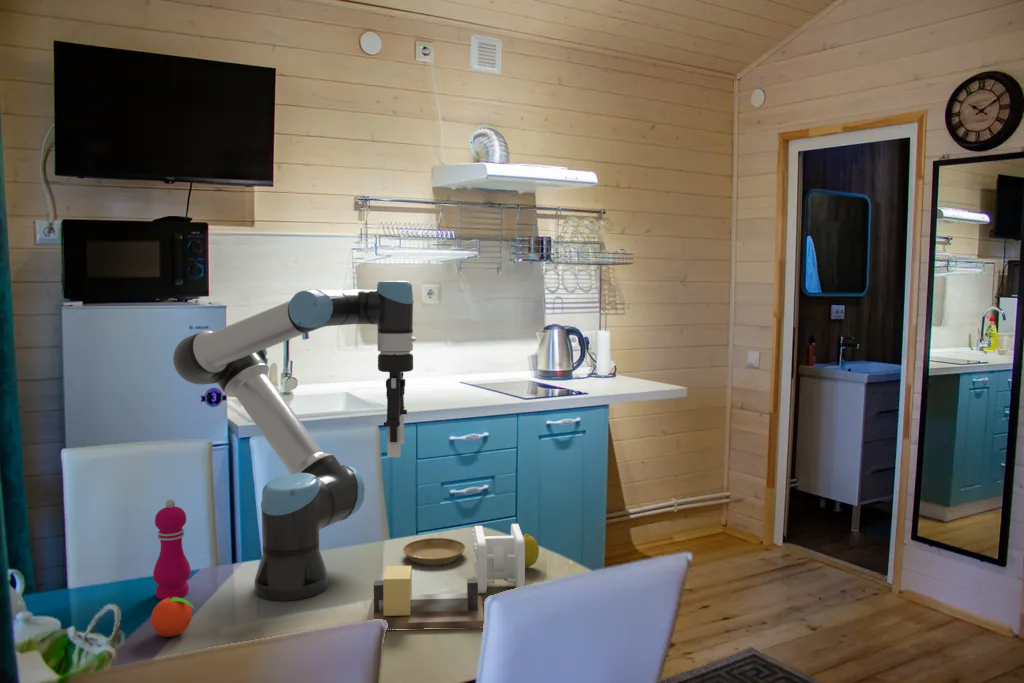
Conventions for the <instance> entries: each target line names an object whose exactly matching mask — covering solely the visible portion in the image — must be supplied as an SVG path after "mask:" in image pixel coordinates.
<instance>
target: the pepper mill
mask: <svg viewBox="0 0 1024 683" xmlns="http://www.w3.org/2000/svg"><path fill="white" fill-rule="evenodd" d="M175 505H176V503H175V500H173V499H168V500H167V501H166V502H165V507H163V508H162V509H160V510H158V512H157V513H156V514H155V517H154V525H155V527H156V528H157V529H158V531H157V534H158V536H157V539H158V540H159V541H160V551H159V555H158V558H157V560H156V562H155V564H154V567H153V572H152V573H153V574H152V578H153V581H154V583H156V584H157V586H155V596H156V598H157V599H159V600H164V599H166V598H169V597H179V598H183V597H185V596H187V595H188V594H189V591H190V587H189V586H190V585H189V582H188V579H190V577H191V573H192V571H191V570H192V569H191V565H190V563H189V561H188V559H187V557H186V554H185V553H184V549H183V537H185V529H184V526H185V525H186V522H187V515H186V512H185V511H184V509H183V508H181V507H179V506H175Z"/></svg>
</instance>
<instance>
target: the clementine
mask: <svg viewBox="0 0 1024 683" xmlns="http://www.w3.org/2000/svg"><path fill="white" fill-rule="evenodd" d="M192 609H193V611H194V612H196V610H195V607H194V605H193V604H192V603H191V602H190V601H188V600H187V599H185V598H183V597H180V598H179V597H169V598H166V599H164V600H163V599H161V600H160V601H159V602H158V603H157V604H156V605H155V607H154V608H153V610H152V612H151V617H150V623H151V624H150V625H151V626H152V628H153V630H154V631H155V632H156V633H157V634H158V635H160V636H162V637H164V638H165V637H166V638H171V637H177V636H179V635H180V634H182V633H183V632H185V630H186V629H187V628H188V627H189V626H190V624H191V620H192V615H193V613H192Z"/></svg>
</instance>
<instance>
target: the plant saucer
mask: <svg viewBox="0 0 1024 683" xmlns="http://www.w3.org/2000/svg"><path fill="white" fill-rule="evenodd" d="M465 550H466V545H465V543H464V542H462V541H459V540H456V539H452V538H445V537H429V538H428V537H427V538H422V539H417V540H413V541H410V542H408V543H407V544H406V545H404V547H403V549H402V551H403V553H404V554H405V555H406V557H407V558H408V559H409V560H411V561H412V562H413V563H415V562H416V563H415V564H417V563H419V564H418V565H421V564H425V565H424V566H443V565H442V564H444V565H448V564H451V563H453V562H455V561H456V560H457V559H458V558H459V557H460V556H461V555H462V554H463V553H464V552H465ZM414 555H415V556H417V557H414ZM418 555H419V556H418ZM420 556H421V558H418V557H420ZM422 557H423V558H422ZM426 557H427V558H426ZM430 557H431V558H430ZM450 562H451V563H450ZM447 563H448V564H447Z"/></svg>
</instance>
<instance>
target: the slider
mask: <svg viewBox="0 0 1024 683" xmlns="http://www.w3.org/2000/svg"><path fill="white" fill-rule="evenodd" d="M412 570H413V567H412V565H386V566H385V570H384V574H383V579H382V581H383V611H384V616H396V615H410V611H411V600H410V598H411V595H413V594H412V592H413V591H412V589H413V587H412V586H413V584H412V582H413V581H412V577H413V576H412V574H413V573H412V572H413V571H412Z"/></svg>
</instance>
